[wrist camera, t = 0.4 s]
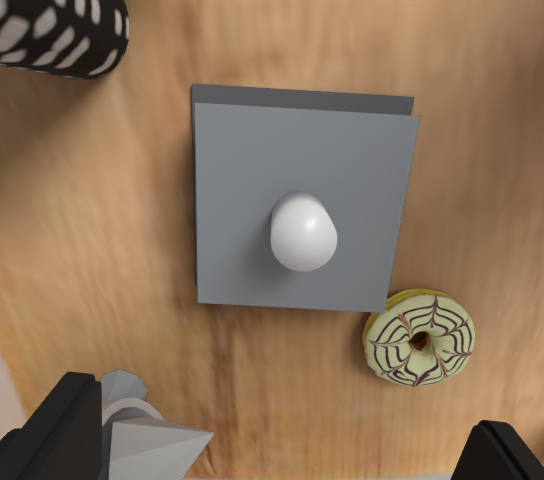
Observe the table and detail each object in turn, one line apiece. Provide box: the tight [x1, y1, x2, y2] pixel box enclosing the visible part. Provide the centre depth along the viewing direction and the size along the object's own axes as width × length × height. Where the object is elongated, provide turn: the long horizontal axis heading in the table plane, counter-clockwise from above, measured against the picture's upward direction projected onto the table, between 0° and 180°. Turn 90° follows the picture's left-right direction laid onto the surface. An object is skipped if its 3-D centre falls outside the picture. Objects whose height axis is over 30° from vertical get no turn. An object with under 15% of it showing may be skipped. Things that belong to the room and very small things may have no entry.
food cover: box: [195, 103, 420, 313], centre depth 27 cm, size 15×15×11 cm
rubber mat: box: [192, 84, 414, 285], centre depth 32 cm, size 18×18×1 cm
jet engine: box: [98, 370, 215, 480], centre depth 31 cm, size 15×20×18 cm
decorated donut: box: [363, 288, 475, 387], centre depth 35 cm, size 10×11×4 cm
